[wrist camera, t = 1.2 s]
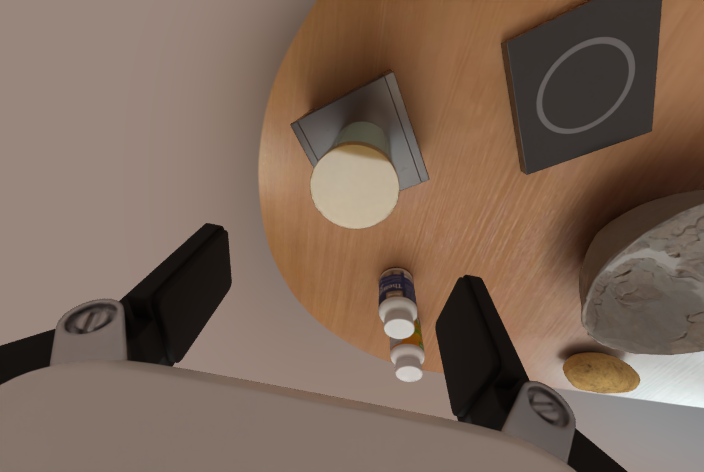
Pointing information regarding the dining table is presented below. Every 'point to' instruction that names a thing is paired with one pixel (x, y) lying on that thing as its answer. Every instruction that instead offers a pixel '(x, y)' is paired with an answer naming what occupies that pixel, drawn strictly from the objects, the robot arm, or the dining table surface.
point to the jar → (356, 178)
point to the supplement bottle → (408, 355)
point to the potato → (600, 373)
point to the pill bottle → (397, 303)
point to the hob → (583, 80)
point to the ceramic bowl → (648, 278)
